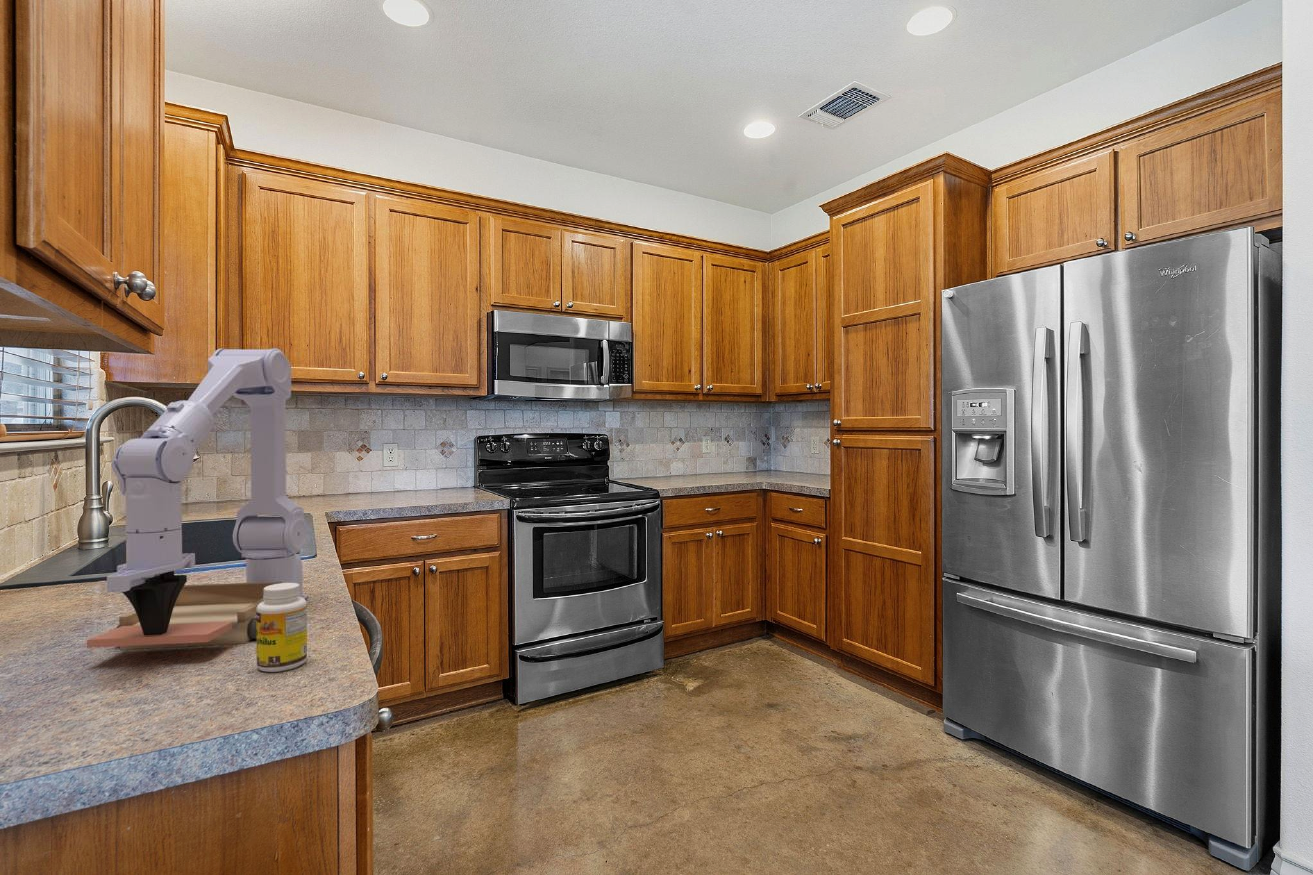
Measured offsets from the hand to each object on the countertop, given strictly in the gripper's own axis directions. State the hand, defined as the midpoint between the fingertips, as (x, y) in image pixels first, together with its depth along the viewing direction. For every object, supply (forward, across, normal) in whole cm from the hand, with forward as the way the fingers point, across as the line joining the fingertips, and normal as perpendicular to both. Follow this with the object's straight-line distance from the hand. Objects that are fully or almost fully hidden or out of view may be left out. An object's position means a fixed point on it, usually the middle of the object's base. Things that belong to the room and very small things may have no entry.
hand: (155, 634), depth 82 cm
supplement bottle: (+4, +4, +17) cm, 18 cm away
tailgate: (+1, -5, 0) cm, 5 cm away
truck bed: (+4, -12, 0) cm, 13 cm away
